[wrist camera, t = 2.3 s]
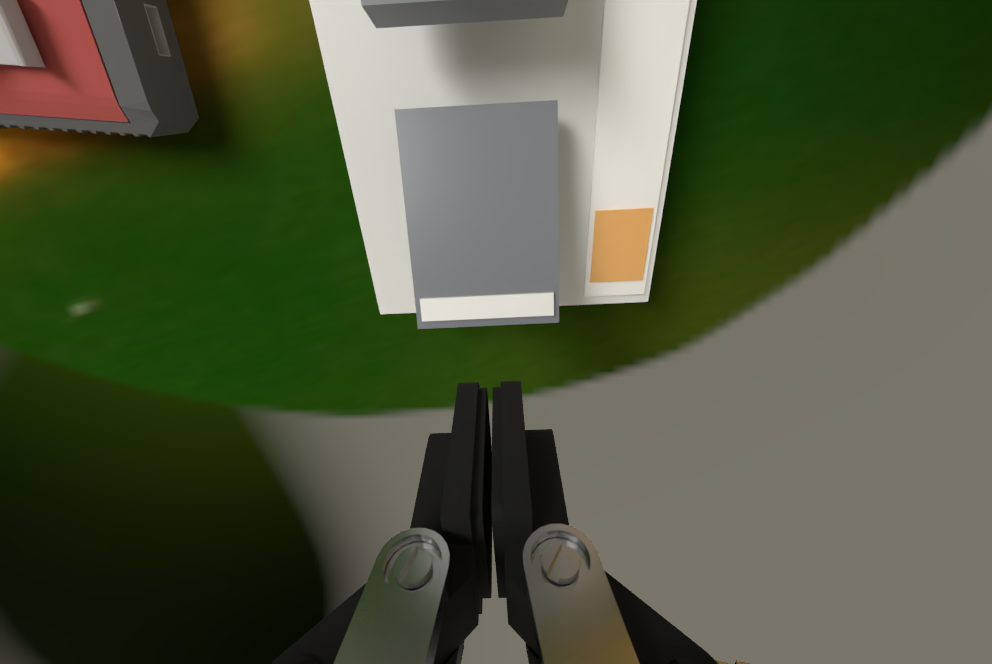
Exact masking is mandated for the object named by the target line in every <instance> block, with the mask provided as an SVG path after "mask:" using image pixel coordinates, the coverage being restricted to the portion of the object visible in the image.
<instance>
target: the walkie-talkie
mask: <svg viewBox="0 0 992 664" xmlns="http://www.w3.org/2000/svg"><path fill="white" fill-rule="evenodd" d="M198 119H199V116H198V112H197V108H196V105H195V101H194V98H193V94H192V90H191V87H190V83H189V80H188V76H187V73H186V69H185V65H184V62H183V58H182V55H181V51H180V47H179V44H178V40H177V37H176V33H175V30H174V26H173V22H172V19H171V15H170V12H169V8H168V4H167V1H166V0H0V128H14V127H20V128H23V129H27V128H34V129H38V130H41V129H49V130H52V131H55V130H63V131H66V132H69V131H77V132H81V133H83V132H92V133H95V134H97V133H106V134H110V135H111V134H120V135H124V136H125V135H134V136H148V137H158V136H165V135H173V134H180V133H188V132H189V131H190V130H191V128H192V127H193V125H194V124H195V123H196V121H197V120H198Z"/></svg>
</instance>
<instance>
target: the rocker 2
mask: <svg viewBox="0 0 992 664" xmlns="http://www.w3.org/2000/svg"><path fill="white" fill-rule="evenodd" d="M394 110H395V119H396V129H397V138H398V147H399V157H400V166H401V175H402V185H403V194H404V203H405V213H406V222H407V231H408V241H409V250H410V259H411V269H412V278H413V287H414V297H415V306H416V315H417V324H418V329H428V328H450V327H472V326H494V325H516V324H537V323H559V220H558V100H550V101H533V102H515V103H498V104H481V105H463V106H446V107H429V108H411V109H394Z"/></svg>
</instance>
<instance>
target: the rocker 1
mask: <svg viewBox="0 0 992 664" xmlns="http://www.w3.org/2000/svg"><path fill="white" fill-rule="evenodd" d="M567 3H568V0H361V6H362V7H363V9H364V10H365V12H366V13H367V15H368V16H369V18H370V19H371V21H372V23H373V24H374V26H375V27H376V28H390V27H406V26H422V25H438V24H454V23H470V22H486V21H503V20H519V19H535V18H551V17H563V16H564V13H565V10H566V6H567Z"/></svg>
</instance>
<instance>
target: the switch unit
mask: <svg viewBox="0 0 992 664" xmlns="http://www.w3.org/2000/svg"><path fill="white" fill-rule="evenodd" d="M309 1H310V5H311V9H312V14H313V18H314V23H315V27H316V32H317V36H318V40H319V45H320V49H321V54H322V58H323V63H324V67H325V71H326V76H327V80H328V85H329V89H330V94H331V98H332V102H333V107H334V111H335V116H336V120H337V125H338V129H339V133H340V138H341V142H342V147H343V151H344V156H345V160H346V164H347V169H348V173H349V178H350V182H351V187H352V191H353V195H354V200H355V204H356V209H357V213H358V218H359V222H360V226H361V231H362V235H363V240H364V244H365V249H366V253H367V257H368V262H369V266H370V271H371V275H372V280H373V284H374V288H375V293H376V297H377V302H378V306H379V310H380V314H396V313H416V306H415V297H414V287H413V278H412V269H411V259H410V250H409V241H408V231H407V222H406V213H405V203H404V194H403V185H402V175H401V166H400V157H399V147H398V138H397V129H396V119H395V110H394V109H411V108H429V107H446V106H463V105H481V104H498V103H515V102H533V101H550V100H558V220H559V306H567V305H589V304H610V303H632V302H648V299H649V293H650V286H651V280H652V274H653V268H654V262H655V256H656V249H657V243H658V237H659V231H660V225H661V219H662V212H663V206H664V200H665V194H666V188H667V182H668V175H669V169H670V163H671V157H672V151H673V145H674V139H675V132H676V126H677V120H678V114H679V108H680V102H681V95H682V89H683V83H684V77H685V71H686V65H687V58H688V52H689V46H690V40H691V34H692V28H693V21H694V15H695V9H696V3H697V0H568V3H567V6H566V10H565V13H564V16H563V17H551V18H535V19H519V20H503V21H486V22H470V23H454V24H438V25H422V26H406V27H390V28H376V27H375V26H374V24H373V23H372V21H371V19H370V18H369V16H368V15H367V13H366V12H365V10H364V9H363V7H362V6H361V0H309Z"/></svg>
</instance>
